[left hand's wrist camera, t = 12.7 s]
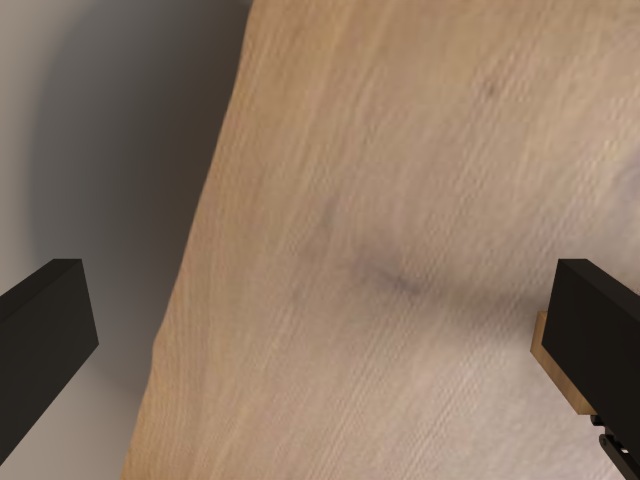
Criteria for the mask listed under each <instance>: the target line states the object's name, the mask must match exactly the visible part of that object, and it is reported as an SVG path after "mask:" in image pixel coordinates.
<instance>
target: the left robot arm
mask: <svg viewBox="0 0 640 480" xmlns="http://www.w3.org/2000/svg"><path fill="white" fill-rule="evenodd" d="M98 345H99V342H98V337H97V332H96V327H95V322H94V318H93V313H92V308H91V303H90V298H89V293H88V288H87V283H86V279H85V274H84V269H83V264H82V259H53V260H51V261H50V262H48V263H47V264H46V265H44V266H43V267H41V268H40V269H39V270H37V271H36V272H34V273H33V274H31V275H30V276H29V277H27V278H26V279H24V280H23V281H21V282H20V283H19V284H17V285H16V286H14V287H13V288H11V289H10V290H9V291H7V292H6V293H4V294H3V295H1V296H0V466H1V465H2V463H3V462H4V461H5V460H6V458H7V457H8V456H9V455H10V454H11V452H12V451H13V450H14V449H15V447H16V446H17V445H18V444H19V442H20V441H21V440H22V439H23V437H24V436H25V435H26V434H27V432H28V431H29V430H30V429H31V428H32V426H33V425H34V424H35V423H36V421H37V420H38V419H39V418H40V416H41V415H42V414H43V413H44V412H45V410H46V409H47V408H48V407H49V405H50V404H51V403H52V402H53V400H54V399H55V398H56V397H57V396H58V394H59V393H60V392H61V391H62V389H63V388H64V387H65V386H66V384H67V383H68V382H69V381H70V379H71V378H72V377H73V376H74V374H75V373H76V372H77V371H78V370H79V368H80V367H81V366H82V365H83V363H84V362H85V361H86V360H87V358H88V357H89V356H90V355H91V354H92V352H93V351H94V350H95V349H96V347H97V346H98ZM541 345H542V346H543V347H544V349H545V350H546V351H547V352H548V354H549V355H550V356H551V357H552V359H553V360H554V361H555V362H556V363H557V365H558V366H559V367H560V368H561V370H562V371H563V372H564V373H565V375H566V376H567V377H568V378H569V379H570V381H571V382H572V383H573V384H574V386H575V387H576V388H577V389H578V391H579V392H580V393H581V394H582V396H583V397H584V398H585V399H586V400H587V402H588V403H589V404H590V405H591V407H592V408H593V409H594V410H595V412H596V413H597V414H598V415H599V417H600V418H601V419H602V420H603V421H604V423H605V424H606V425H607V426H608V428H609V429H610V430H611V431H612V433H613V434H614V435H615V436H616V437H617V439H618V440H619V441H620V442H621V444H622V445H623V446H624V447H625V449H626V450H627V451H628V452H629V454H630V455H631V456H632V457H633V458H634V460H635V461H636V462H637V463H638V465H639V466H640V296H639V295H637V294H636V293H634V292H633V291H631V290H630V289H629V288H627V287H626V286H624V285H623V284H621V283H620V282H619V281H617V280H616V279H614V278H613V277H611V276H610V275H609V274H607V273H606V272H604V271H603V270H602V269H600V268H599V267H597V266H596V265H594V264H593V263H592V262H590V261H589V260H587V259H558V264H557V269H556V274H555V279H554V283H553V288H552V293H551V298H550V303H549V308H548V313H547V318H546V322H545V327H544V332H543V337H542V342H541Z"/></svg>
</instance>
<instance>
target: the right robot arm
mask: <svg viewBox="0 0 640 480" xmlns="http://www.w3.org/2000/svg"><path fill="white" fill-rule="evenodd" d="M590 418H591V422H592V424H593V425H594V426H604V427H605V434H601V435H600V436H599V442H600V445H601V447H602V448H603V450H604V451H605V452H606V454H607V455H608V456H609V458H610V459H611V460H612V462H613V463H614V464H615V466H616V467H617V468H618V470H619V471H620V472H621V474H622V475H623V476H624V478H625V479H626V480H640V466H639V465H638V463H637V462H636V461H635V460H634V458H633V457H632V456H631V455H630V454H629V453H624V452H623V451H622V450H626V449H625V447H624V446H623V445H622V444H621V442H620V441H619V440H618V439H617V437H616V436H615V435H614V434H613V433H612V431H611V430H610V429H609V428H608V426H607V425H606V424H605V423H604V421H603V420H602V419H601V418H600V417H599V415H590Z"/></svg>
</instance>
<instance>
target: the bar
mask: <svg viewBox="0 0 640 480" xmlns="http://www.w3.org/2000/svg"><path fill="white" fill-rule="evenodd" d="M547 313H548V311H538V315H537V320H536V325H535V329H534V334H533V339H532V344H531V349H530V352H531V353H532V354H533V356H534V357H535V358H536V360H537V361H538V362H539V364H540V365H541V366H542V368H543V369H544V370H545V372H546V373H547V374H548V376H549V377H550V378H551V380H552V381H553V382H554V383H555V385H556V386H557V387H558V389H559V390H560V391H561V393H562V394H563V395H564V397H565V398H566V399H567V401H568V402H569V403H570V405H571V406H572V407H573V409H574V410H575V411H576V413H577V414H578V415H598V414H597V413H596V412H595V410H594V409H593V408H592V407H591V405H590V404H589V403H588V402H587V400H586V399H585V398H584V397H583V396H582V394H581V393H580V392H579V391H578V389H577V388H576V387H575V386H574V384H573V383H572V382H571V381H570V379H569V378H568V377H567V376H566V375H565V373H564V372H563V371H562V370H561V368H560V367H559V366H558V365H557V363H556V362H555V361H554V360H553V359H552V357H551V356H550V355H549V354H548V352H547V351H546V350H545V349H544V347H543V346H542V345H541V342H542V337H543V332H544V327H545V322H546V318H547Z"/></svg>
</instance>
